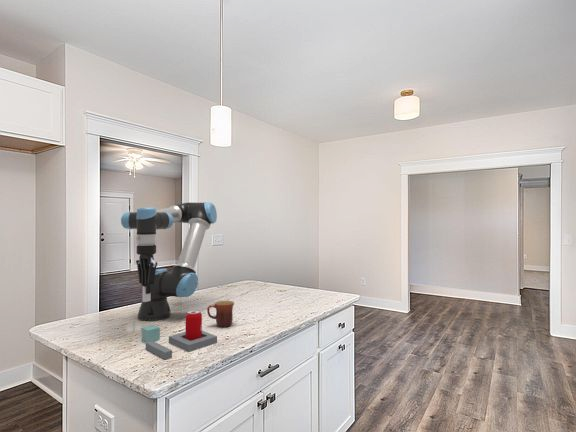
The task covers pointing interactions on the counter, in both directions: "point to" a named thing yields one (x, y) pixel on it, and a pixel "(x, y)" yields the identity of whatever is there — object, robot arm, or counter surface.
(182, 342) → the grey flat pieces
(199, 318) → the beverage can
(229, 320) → the mug
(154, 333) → the teal cube block
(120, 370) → the counter surface
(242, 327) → the counter surface
